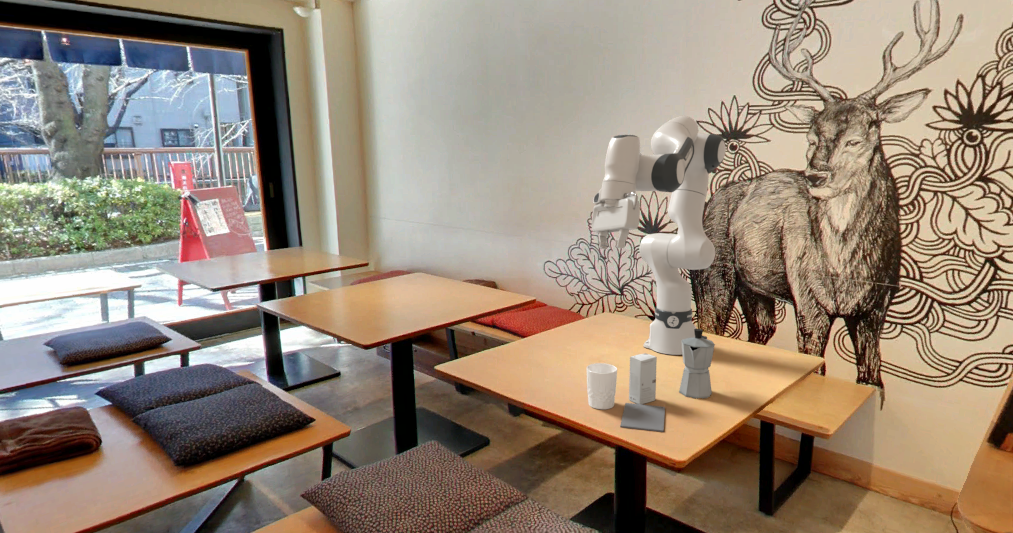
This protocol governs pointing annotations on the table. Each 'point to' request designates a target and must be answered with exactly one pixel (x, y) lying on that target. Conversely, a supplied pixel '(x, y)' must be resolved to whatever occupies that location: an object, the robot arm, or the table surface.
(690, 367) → the coffee maker
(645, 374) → the skincare box
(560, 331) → the table surface
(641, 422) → the mat
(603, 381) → the white cup
